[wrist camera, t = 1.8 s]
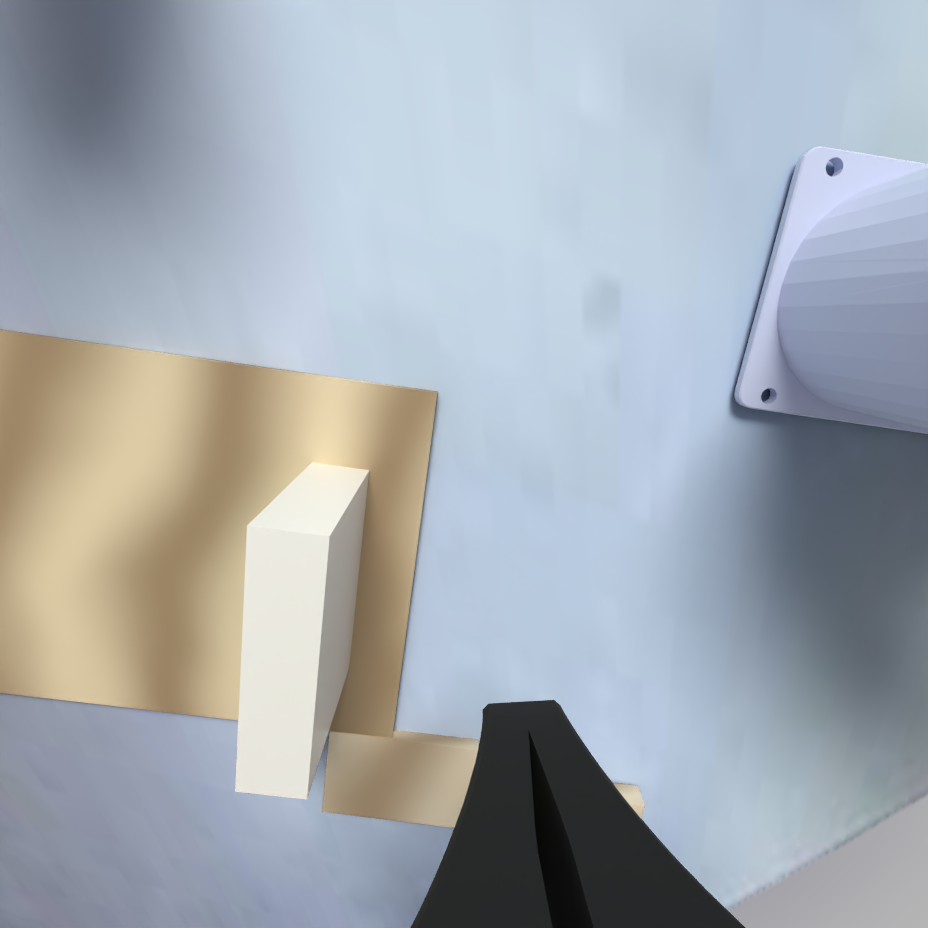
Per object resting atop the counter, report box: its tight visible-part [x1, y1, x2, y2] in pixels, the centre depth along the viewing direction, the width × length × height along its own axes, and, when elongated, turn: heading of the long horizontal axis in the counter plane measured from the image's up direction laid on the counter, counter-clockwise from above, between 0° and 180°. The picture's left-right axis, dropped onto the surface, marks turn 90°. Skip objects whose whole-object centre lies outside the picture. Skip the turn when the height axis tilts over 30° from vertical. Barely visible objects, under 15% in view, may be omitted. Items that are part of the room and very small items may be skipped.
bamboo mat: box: [0, 330, 438, 738], centre depth 20 cm, size 16×14×1 cm
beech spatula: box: [322, 730, 645, 828], centre depth 23 cm, size 13×4×1 cm, turn 82°
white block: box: [235, 462, 369, 799], centre depth 17 cm, size 2×8×6 cm, turn 172°
